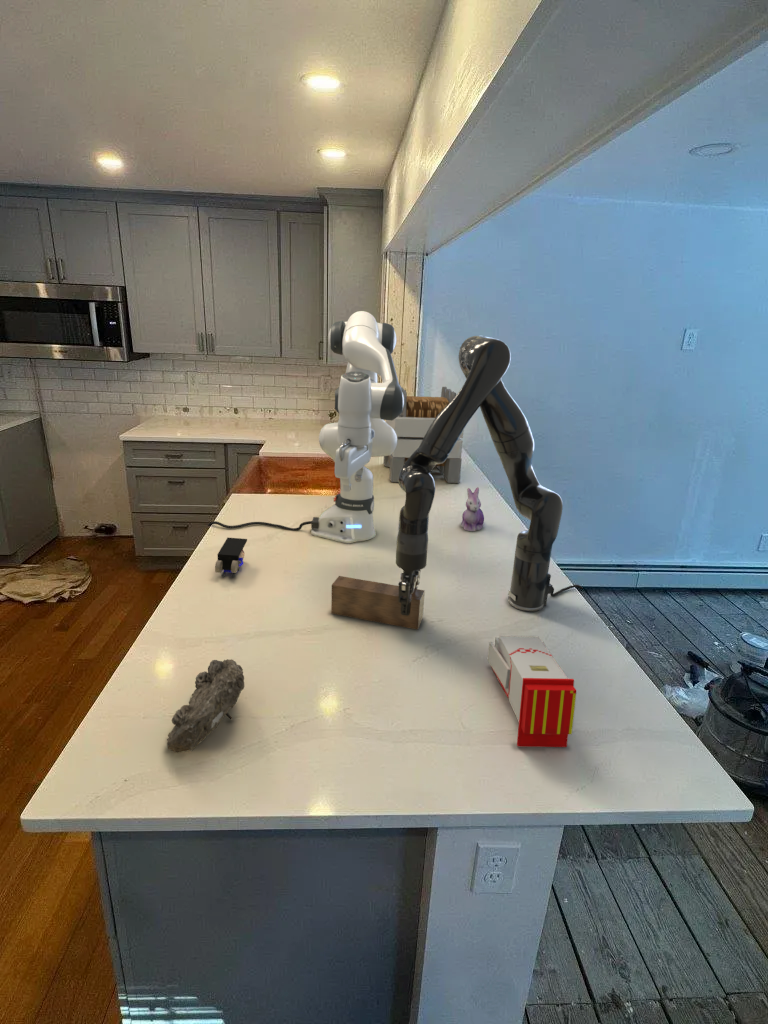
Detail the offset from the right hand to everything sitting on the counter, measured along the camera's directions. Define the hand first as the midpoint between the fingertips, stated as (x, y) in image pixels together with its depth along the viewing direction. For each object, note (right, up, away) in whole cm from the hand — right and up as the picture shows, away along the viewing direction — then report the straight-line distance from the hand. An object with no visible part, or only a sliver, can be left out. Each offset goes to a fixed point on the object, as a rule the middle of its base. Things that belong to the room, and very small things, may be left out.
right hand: (408, 608), depth 143 cm
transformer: (+11, +43, +132) cm, 139 cm away
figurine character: (-51, +7, +25) cm, 57 cm away
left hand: (-14, +31, +11) cm, 36 cm away
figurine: (+27, +19, +66) cm, 74 cm away
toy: (+23, -14, -26) cm, 37 cm away
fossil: (-39, -15, -35) cm, 54 cm away
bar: (-8, -3, +3) cm, 9 cm away
